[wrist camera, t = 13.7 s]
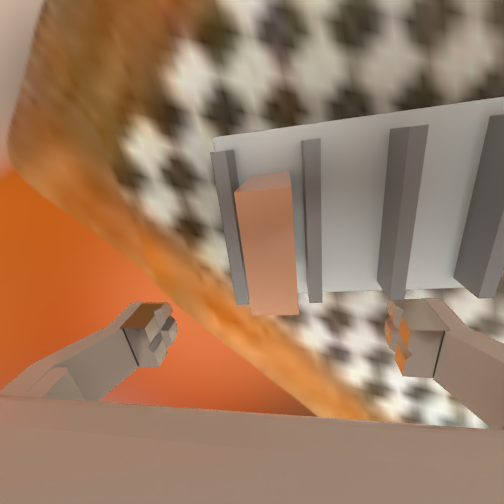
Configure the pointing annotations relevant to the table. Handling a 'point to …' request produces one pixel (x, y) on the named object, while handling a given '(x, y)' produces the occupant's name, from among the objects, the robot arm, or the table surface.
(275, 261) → the block
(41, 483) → the robot arm
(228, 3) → the table surface
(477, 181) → the rack
